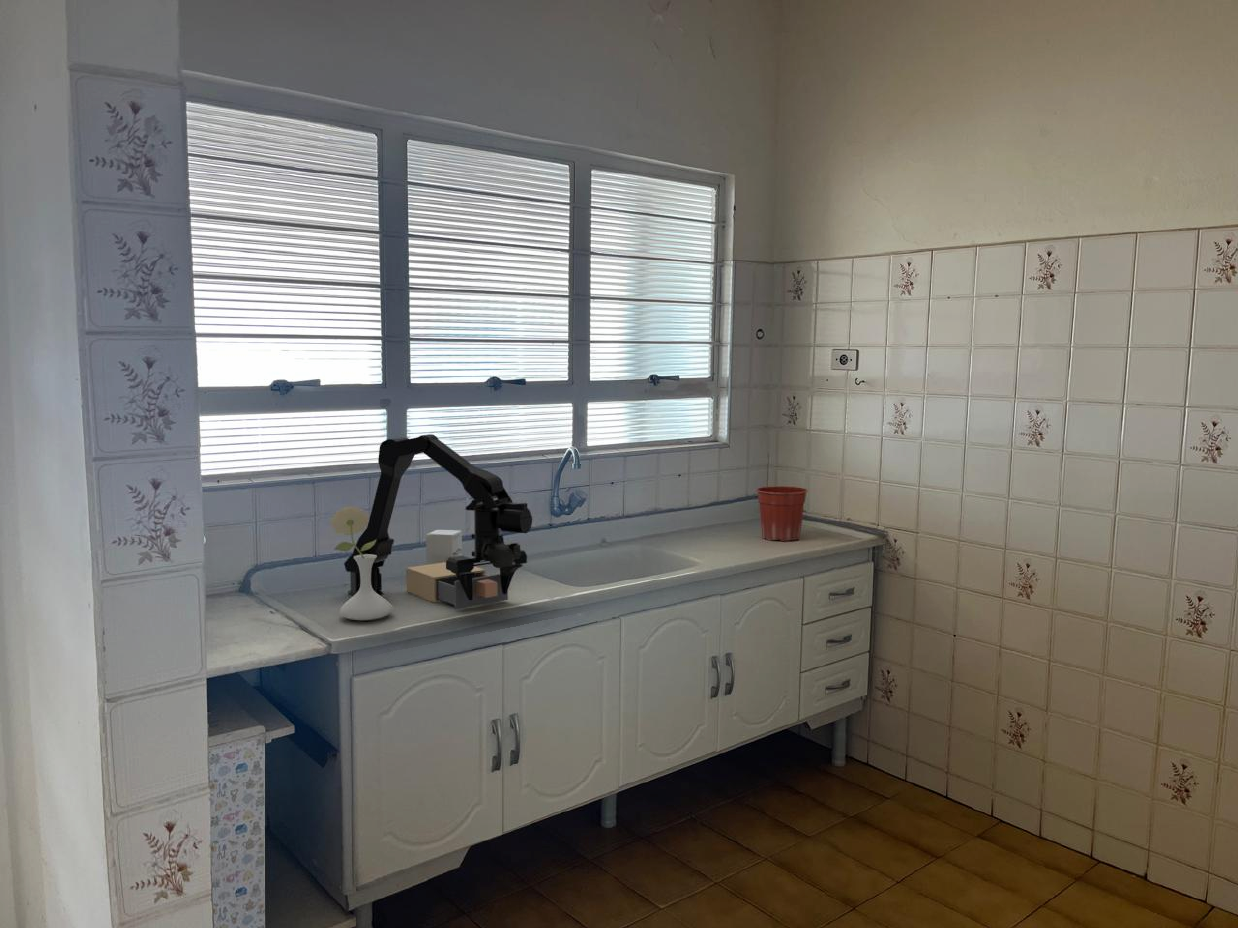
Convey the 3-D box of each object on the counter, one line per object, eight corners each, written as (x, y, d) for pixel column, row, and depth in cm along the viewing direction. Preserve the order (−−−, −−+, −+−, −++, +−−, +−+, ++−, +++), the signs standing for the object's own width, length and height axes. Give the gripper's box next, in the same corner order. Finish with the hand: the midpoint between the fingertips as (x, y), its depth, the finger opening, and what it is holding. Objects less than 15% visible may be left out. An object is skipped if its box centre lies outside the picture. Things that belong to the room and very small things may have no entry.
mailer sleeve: (434, 602, 227) (434, 577, 226) (406, 591, 238) (406, 567, 237) (485, 593, 236) (485, 569, 235) (456, 583, 247) (456, 560, 246)
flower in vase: (397, 610, 219) (395, 502, 217) (387, 624, 208) (384, 510, 205) (339, 611, 219) (336, 502, 216) (326, 624, 208) (323, 510, 205)
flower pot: (751, 541, 308) (752, 491, 306) (759, 532, 323) (760, 485, 322) (803, 544, 303) (804, 493, 301) (808, 535, 318) (810, 487, 317)
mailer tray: (465, 612, 216) (464, 584, 216) (424, 596, 231) (424, 570, 230) (517, 603, 225) (516, 576, 225) (474, 588, 240) (474, 563, 239)
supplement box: (452, 583, 247) (452, 534, 246) (425, 582, 248) (424, 533, 247) (463, 577, 254) (462, 530, 253) (436, 575, 256) (436, 528, 254)
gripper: (469, 539, 208) (470, 610, 210) (540, 530, 220) (541, 597, 222) (444, 532, 217) (445, 600, 218) (513, 524, 229) (514, 588, 230)
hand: (487, 597), depth 222 cm, fingers open, 9 cm apart
